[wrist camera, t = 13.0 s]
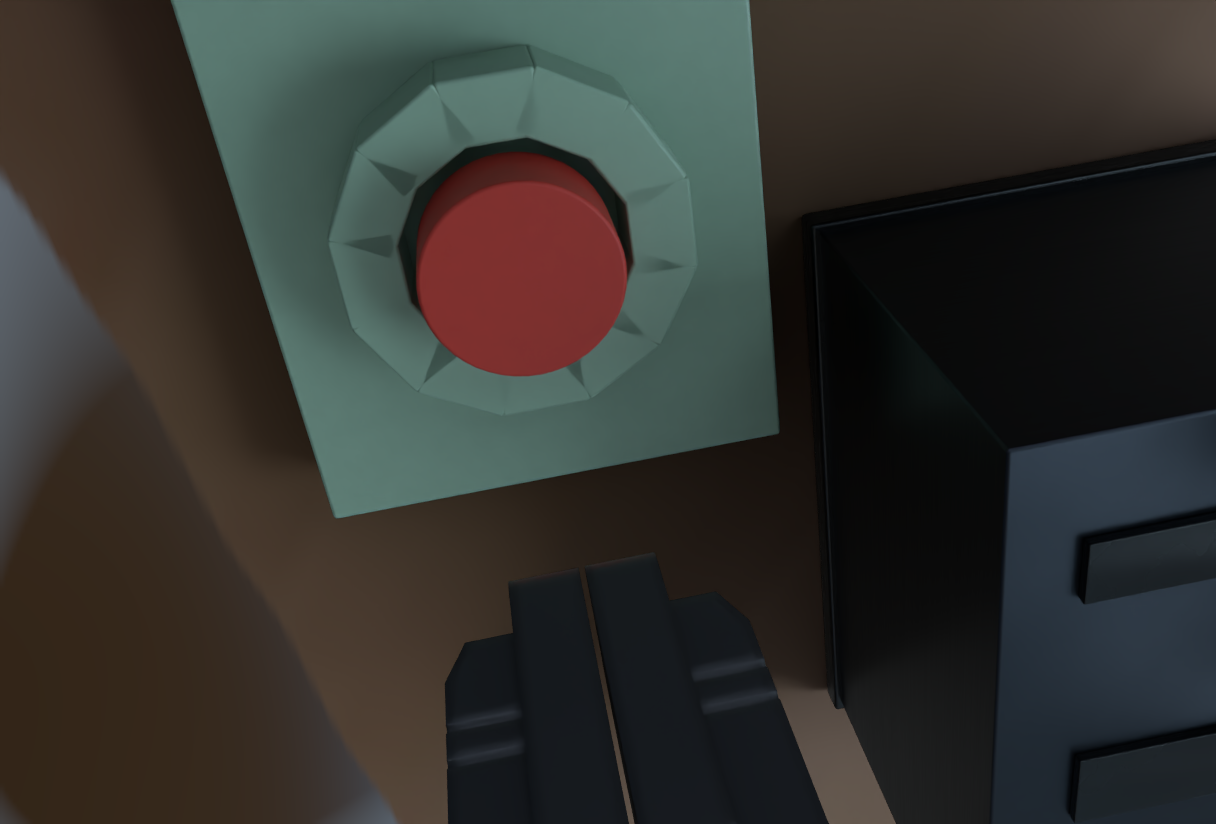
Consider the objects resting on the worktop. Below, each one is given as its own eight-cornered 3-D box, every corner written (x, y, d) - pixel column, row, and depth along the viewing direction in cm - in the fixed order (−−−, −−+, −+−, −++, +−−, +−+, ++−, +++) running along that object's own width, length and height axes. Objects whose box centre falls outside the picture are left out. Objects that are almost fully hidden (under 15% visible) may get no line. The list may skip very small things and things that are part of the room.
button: (396, 169, 20) (393, 202, 18) (598, 133, 20) (612, 163, 19) (439, 352, 22) (440, 395, 20) (625, 317, 22) (639, 357, 20)
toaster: (800, 213, 25) (1000, 448, 16) (1290, 123, 26) (1737, 305, 17) (826, 691, 32) (975, 1033, 24) (1209, 612, 33) (1494, 918, 24)
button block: (173, -81, 21) (123, -52, 17) (710, -169, 21) (766, -158, 18) (340, 467, 27) (327, 570, 23) (756, 388, 27) (804, 478, 24)
